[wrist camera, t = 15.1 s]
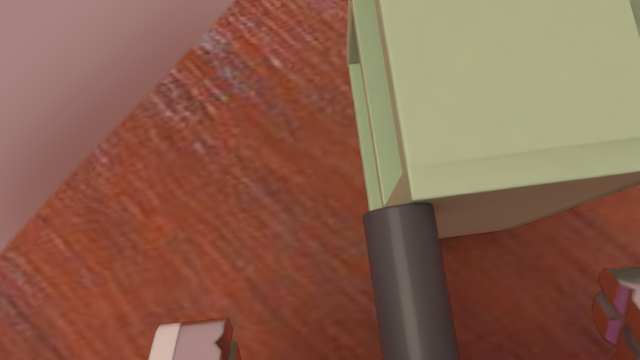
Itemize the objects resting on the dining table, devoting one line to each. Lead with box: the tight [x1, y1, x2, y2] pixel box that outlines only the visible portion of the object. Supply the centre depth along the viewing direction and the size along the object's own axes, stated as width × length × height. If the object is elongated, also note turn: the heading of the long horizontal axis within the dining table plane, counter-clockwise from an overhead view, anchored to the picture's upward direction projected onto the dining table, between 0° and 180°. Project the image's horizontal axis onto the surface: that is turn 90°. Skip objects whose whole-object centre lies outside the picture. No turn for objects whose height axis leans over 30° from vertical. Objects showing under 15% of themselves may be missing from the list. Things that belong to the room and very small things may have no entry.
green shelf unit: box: [346, 0, 640, 360], centre depth 17 cm, size 7×14×12 cm, turn 7°
